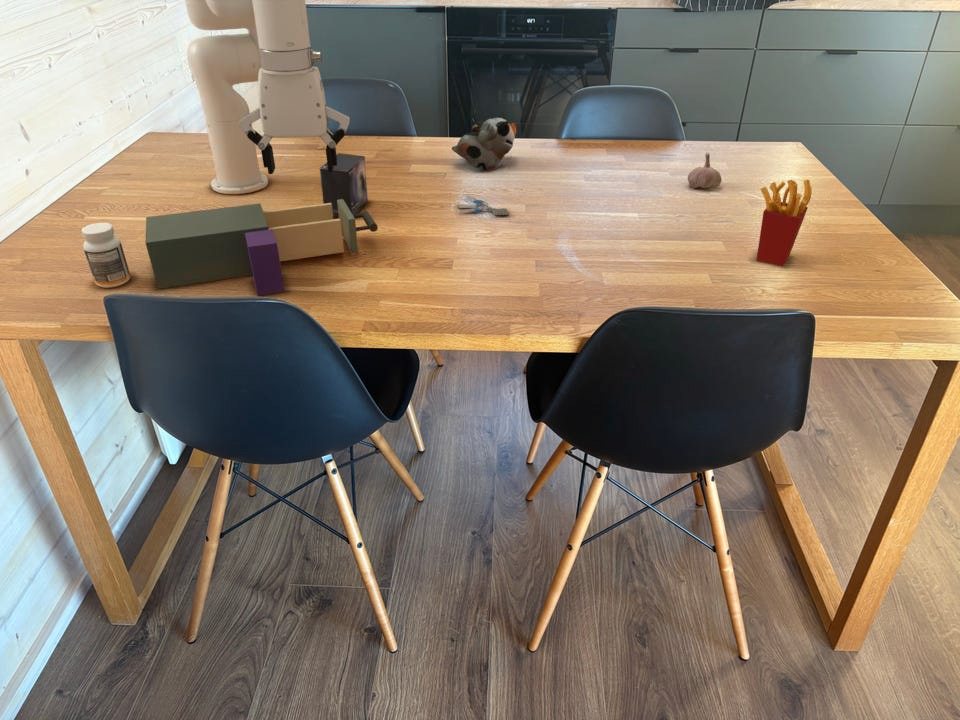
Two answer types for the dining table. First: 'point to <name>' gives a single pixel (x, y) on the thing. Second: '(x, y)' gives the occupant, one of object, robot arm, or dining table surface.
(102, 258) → the pill bottle
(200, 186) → the dining table surface
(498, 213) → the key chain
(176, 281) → the cabinet
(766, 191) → the french fries
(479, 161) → the lucky cat figurine
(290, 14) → the robot arm
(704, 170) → the garlic bulb
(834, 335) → the dining table surface
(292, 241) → the drawer
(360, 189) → the small box
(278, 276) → the snack carton
